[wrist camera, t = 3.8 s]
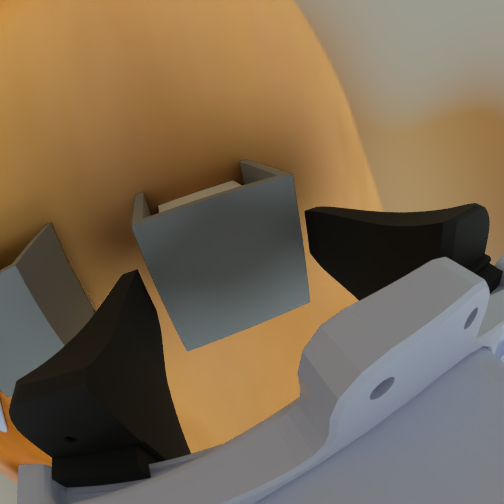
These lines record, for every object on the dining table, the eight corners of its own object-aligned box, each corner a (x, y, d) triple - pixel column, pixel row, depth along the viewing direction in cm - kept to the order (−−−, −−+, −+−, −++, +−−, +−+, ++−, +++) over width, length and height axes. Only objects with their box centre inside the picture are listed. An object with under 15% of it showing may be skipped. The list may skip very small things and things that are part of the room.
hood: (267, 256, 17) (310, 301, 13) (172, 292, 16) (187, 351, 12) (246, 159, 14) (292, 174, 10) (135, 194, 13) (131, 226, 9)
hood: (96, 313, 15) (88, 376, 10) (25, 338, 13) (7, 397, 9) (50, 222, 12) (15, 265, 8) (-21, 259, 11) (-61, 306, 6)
